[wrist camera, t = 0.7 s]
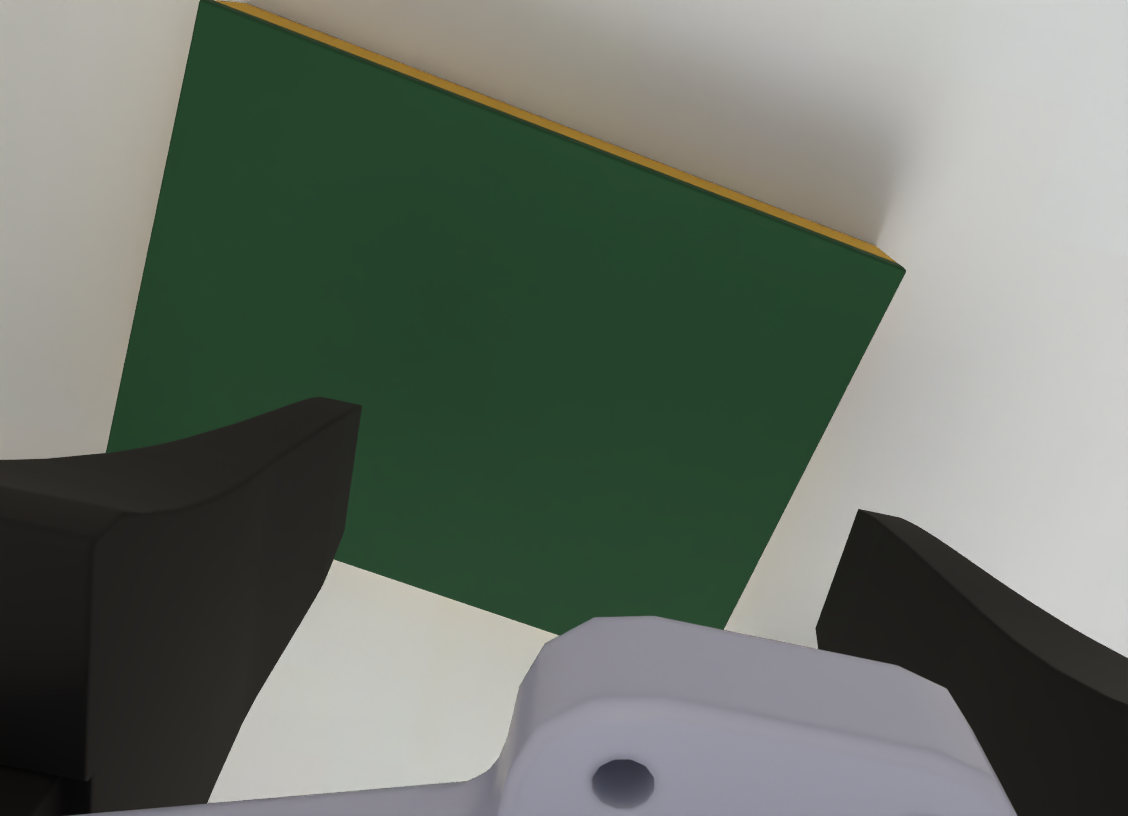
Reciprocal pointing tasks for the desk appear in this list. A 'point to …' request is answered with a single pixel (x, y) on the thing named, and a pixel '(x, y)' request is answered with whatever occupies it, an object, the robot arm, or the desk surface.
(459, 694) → the desk surface
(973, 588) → the robot arm
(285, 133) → the sponge
